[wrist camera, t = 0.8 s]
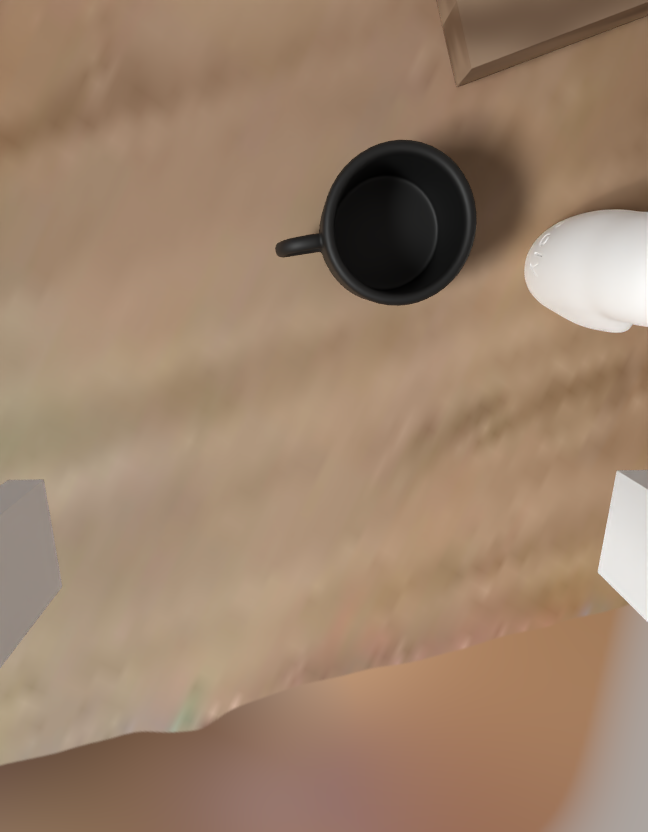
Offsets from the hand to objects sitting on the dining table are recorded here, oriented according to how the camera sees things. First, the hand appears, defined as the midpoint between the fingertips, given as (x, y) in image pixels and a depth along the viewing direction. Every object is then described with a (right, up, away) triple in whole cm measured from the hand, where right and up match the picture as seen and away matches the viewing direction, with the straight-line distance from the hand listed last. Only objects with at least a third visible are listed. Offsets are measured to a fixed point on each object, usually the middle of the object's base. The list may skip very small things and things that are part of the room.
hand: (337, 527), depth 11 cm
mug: (+2, +15, +24) cm, 28 cm away
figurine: (+18, +14, +25) cm, 33 cm away
